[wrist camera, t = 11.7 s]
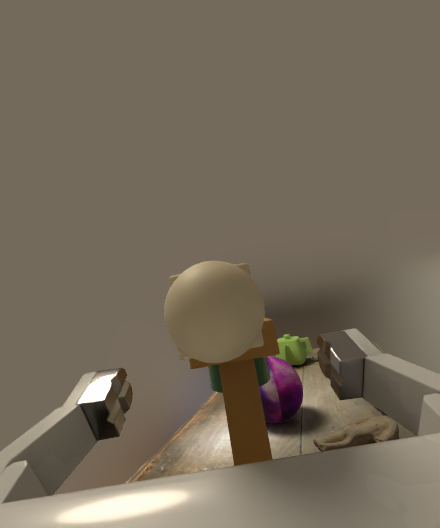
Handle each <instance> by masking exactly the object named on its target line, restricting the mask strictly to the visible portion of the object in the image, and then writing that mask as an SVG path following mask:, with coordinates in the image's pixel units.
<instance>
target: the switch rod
mask: <svg viewBox="0 0 440 528" xmlns="http://www.w3.org/2000/svg"><path fill="white" fill-rule="evenodd" d="M169 281H170V290H169V292H168V294H167V297H166V302H165V308H164V316H165V323H166V327H167V330H168V333H169V335H170V337H171V339H172V340H173V341H174V343H175V344H176V346H177V347H178V352H179V358H180V359H181V360H185V359H191V358H193V359H196V360H198V361H202V362H206V363H222V362H227V361H230V360H233V359H235V358H237V357H239V356H241V355H242V354H244V353H245V352H246V351H247V350H248V349H250V348H256V347H262V346H263V345H264V341H263V336H262V331H261V329H262V326H263V323H264V316H265V311H264V310H265V309H264V301H263V297H262V294H261V292H260V290H259V288H258V286H257V284H256V283H255V281H254V280H253V279H252V277H251V275H250V270H249V265H248V264H247V263H243V264H238V265H233V264H230V263H227V262H223V261H207V262H202V263H199V264H196V265H194V266H192V267H190V268H189V269H187V270H185V271H184V272H183V273H182V274H180V275H174V276H171V277H170V278H169Z"/></svg>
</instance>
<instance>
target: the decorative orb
mask: <svg viewBox="0 0 440 528" xmlns="http://www.w3.org/2000/svg"><path fill="white" fill-rule="evenodd" d="M267 362H268V367H269V372H270V377H271V378H270V381H269V382H267V383H266V384H265V385H263V386H260V387H259V390H260V395H261V401H262V406H263V411H264V417H265V421H266V422H270V423H282V422H285V421H287V420H289V419H291V418H292V417H293V416H294V415H295V414H296V413H297V412H298V410H299V408H300V406H301V403H302V399H303V388H302V383H301V380H300V378H299V375H298V374H297V372H296V371H295V369H294V368H293V367H292V366H291V365H290V364H289V363H287V362H286V361H284V360H282V359H280V358H277V357H270V356H269V357H267Z"/></svg>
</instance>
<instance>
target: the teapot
mask: <svg viewBox="0 0 440 528" xmlns="http://www.w3.org/2000/svg"><path fill="white" fill-rule="evenodd" d="M283 337H284V338H280V339H278V340H277V341H278V346H279V351H280V354H278V355H272V356H273V357H277V358H280V359H282V360H284V361H286V362H287V363H289V364H290V365H297V366H300V365H302V364H303V363H304V362H305V361H306V355H307V354H308V353H309V352H310V351H312V347H311V344H310V341H309V339H308V338H300V339H299V337H297V336H294V337H290V335H289V334H287V335H283ZM303 341H305V342H306V346H307V348H306V349H304V347H303V345H302V343H301V342H303Z"/></svg>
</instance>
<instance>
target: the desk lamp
mask: <svg viewBox="0 0 440 528" xmlns="http://www.w3.org/2000/svg"><path fill="white" fill-rule="evenodd" d="M261 331H262V336H263V341H264V345H263V346H262V347H256V348H250V349H248V350H247V351H246V352H245V353H244V354H242V355H241V356H239V357H237V358H235V359H233V360H230V361H227V362H222V363H206V362H202V361H198V360H196V359H193V358H191V359H190V367H191V369H195V368H201V367H207V366H208V369H209V376H210V382H211V388H212V389H213V390H214V391H216V392H221V393H223V396H224V403H225V409H226V415H227V422H228V428H229V434H230V441H231V447H232V454H233V460H234V466H237V465H243V464H249V463H255V462H262V461H268V460H272V454H271V449H270V443H269V438H268V433H267V427H266V422H265V417H264V411H263V406H262V401H261V395H260V390H259V387H260V386H263V385H265V384H266V383H267V382H269V381H270V378H271V377H270V372H269V367H268V362H267V357H266V356H272V355H278V354H280V351H279V346H278V341H277V336H276V331H275V327H274V322H273V320H272V319H267V318H264V323H263V326H262V329H261Z"/></svg>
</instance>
